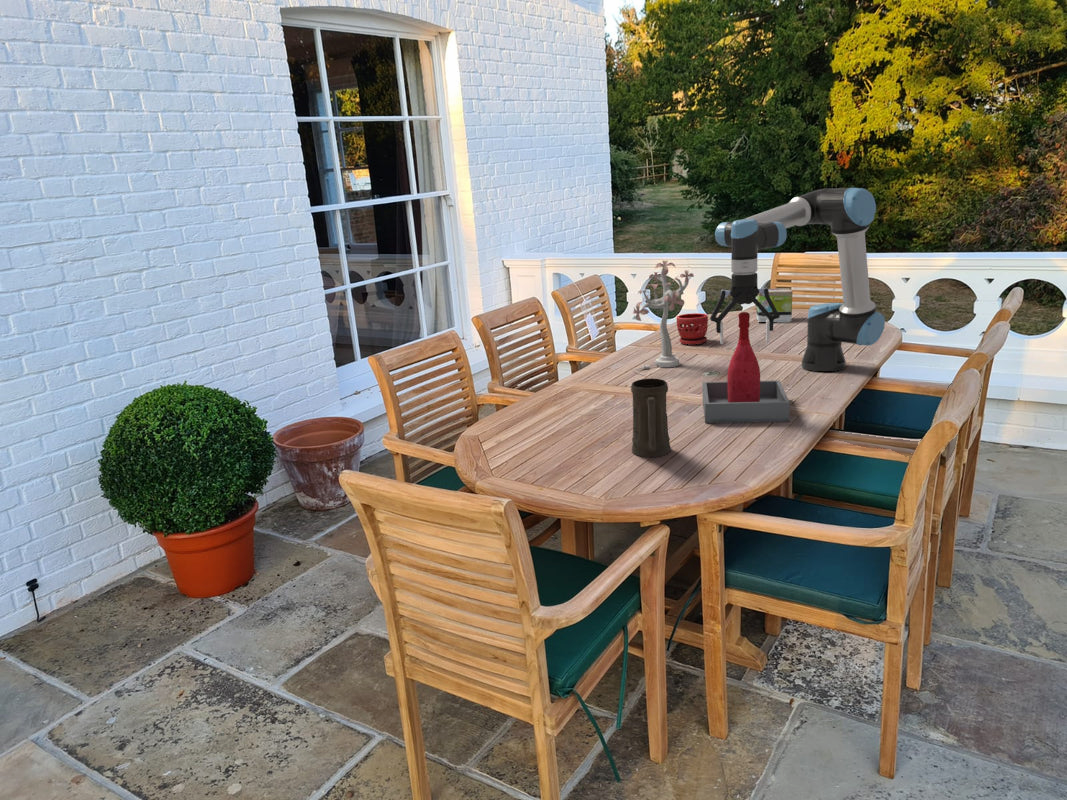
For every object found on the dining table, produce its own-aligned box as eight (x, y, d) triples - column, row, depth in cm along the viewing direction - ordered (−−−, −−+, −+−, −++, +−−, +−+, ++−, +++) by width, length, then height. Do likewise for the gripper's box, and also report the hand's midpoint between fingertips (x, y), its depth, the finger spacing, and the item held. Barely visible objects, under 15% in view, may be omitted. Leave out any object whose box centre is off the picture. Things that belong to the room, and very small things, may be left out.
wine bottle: (761, 402, 253) (762, 309, 245) (758, 412, 244) (759, 315, 236) (729, 401, 257) (729, 309, 248) (725, 411, 248) (725, 315, 239)
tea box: (758, 323, 371) (758, 292, 367) (756, 319, 381) (756, 288, 376) (792, 322, 368) (792, 290, 364) (789, 318, 378) (789, 287, 374)
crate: (779, 398, 260) (779, 380, 258) (789, 421, 237) (789, 402, 235) (702, 399, 264) (702, 381, 263) (705, 422, 242) (704, 403, 240)
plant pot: (712, 340, 345) (712, 312, 342) (701, 347, 335) (701, 318, 332) (684, 338, 352) (683, 311, 349) (672, 345, 342) (671, 317, 339)
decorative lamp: (648, 377, 295) (644, 268, 283) (616, 365, 315) (612, 263, 304) (710, 365, 305) (709, 260, 294) (675, 354, 326) (673, 255, 314)
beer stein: (627, 445, 228) (625, 378, 221) (664, 441, 228) (664, 375, 221) (639, 467, 213) (637, 397, 206) (678, 463, 214) (678, 393, 207)
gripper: (702, 277, 237) (703, 346, 244) (789, 272, 233) (788, 343, 239) (701, 273, 244) (702, 341, 251) (786, 268, 240) (785, 337, 246)
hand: (744, 342), depth 245 cm, fingers open, 13 cm apart
